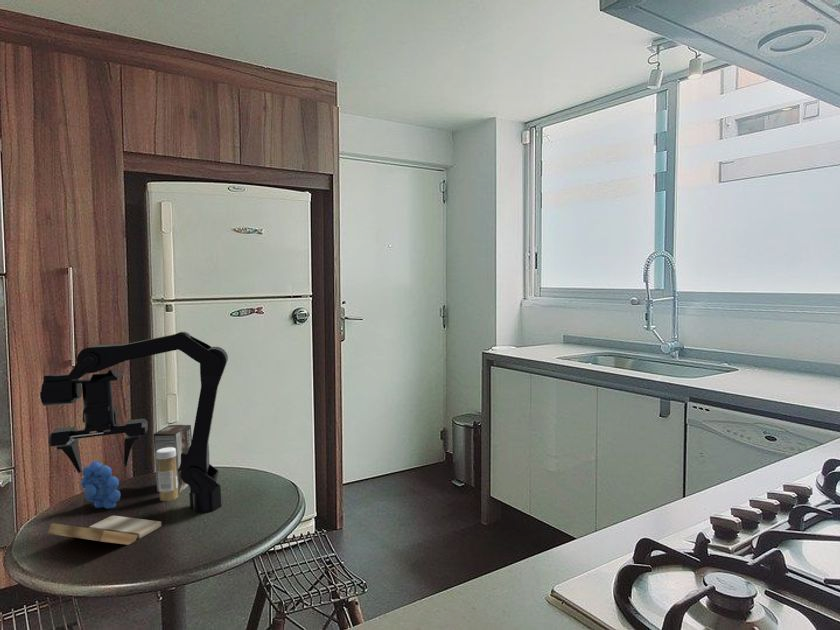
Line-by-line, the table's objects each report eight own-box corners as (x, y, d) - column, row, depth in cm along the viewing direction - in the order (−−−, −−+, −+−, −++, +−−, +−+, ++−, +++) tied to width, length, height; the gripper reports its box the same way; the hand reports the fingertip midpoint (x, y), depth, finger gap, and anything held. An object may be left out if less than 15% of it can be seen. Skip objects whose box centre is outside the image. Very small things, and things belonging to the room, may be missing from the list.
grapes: (68, 514, 131) (64, 465, 131) (93, 503, 138) (90, 457, 137) (104, 519, 127) (101, 469, 127) (128, 508, 134) (125, 460, 133)
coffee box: (172, 481, 152) (169, 424, 151) (195, 480, 152) (192, 423, 151) (155, 493, 143) (152, 433, 142) (179, 493, 143) (176, 432, 142)
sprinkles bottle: (182, 498, 139) (179, 446, 138) (171, 505, 134) (168, 452, 134) (166, 498, 140) (163, 446, 139) (155, 505, 135) (151, 451, 135)
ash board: (161, 530, 120) (161, 521, 120) (139, 542, 115) (139, 533, 114) (112, 524, 125) (112, 515, 125) (89, 535, 119) (89, 526, 119)
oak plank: (134, 545, 113) (137, 535, 114) (100, 541, 106) (104, 530, 106) (83, 538, 118) (87, 528, 118) (47, 533, 110) (51, 523, 111)
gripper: (148, 390, 133) (152, 453, 134) (59, 399, 127) (64, 465, 128) (142, 398, 123) (147, 466, 124) (45, 408, 116) (51, 480, 117)
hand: (103, 469), depth 123 cm, fingers open, 9 cm apart
